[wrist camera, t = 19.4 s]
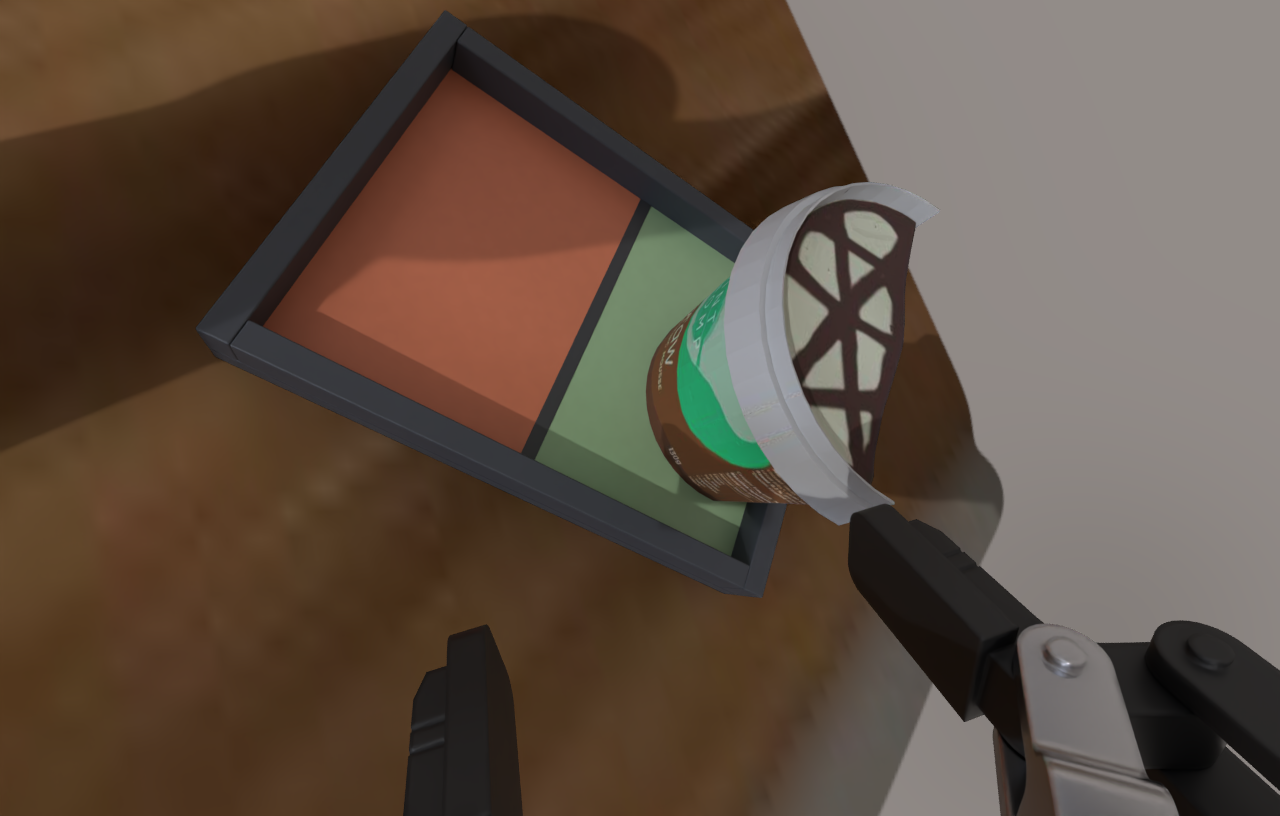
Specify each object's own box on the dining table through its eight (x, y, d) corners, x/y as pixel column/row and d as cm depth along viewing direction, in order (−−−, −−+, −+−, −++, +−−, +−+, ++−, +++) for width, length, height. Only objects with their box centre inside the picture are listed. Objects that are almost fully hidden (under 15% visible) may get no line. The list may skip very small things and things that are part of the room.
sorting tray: (213, 356, 20) (194, 328, 17) (436, 60, 26) (444, 8, 23) (724, 594, 26) (762, 598, 24) (806, 312, 32) (843, 293, 30)
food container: (669, 240, 28) (813, 97, 19) (768, 303, 30) (942, 198, 21) (579, 477, 23) (716, 431, 15) (704, 533, 25) (891, 522, 16)
